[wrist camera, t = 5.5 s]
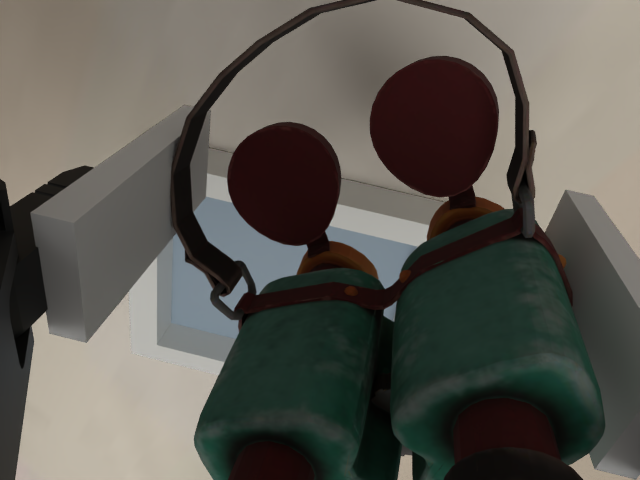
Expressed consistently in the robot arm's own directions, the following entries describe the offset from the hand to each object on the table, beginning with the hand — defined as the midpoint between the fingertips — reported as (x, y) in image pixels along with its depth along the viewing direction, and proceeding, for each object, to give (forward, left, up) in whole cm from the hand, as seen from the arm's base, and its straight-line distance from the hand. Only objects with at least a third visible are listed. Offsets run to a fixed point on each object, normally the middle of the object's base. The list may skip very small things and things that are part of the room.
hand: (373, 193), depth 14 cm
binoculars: (0, 0, -1) cm, 2 cm away
